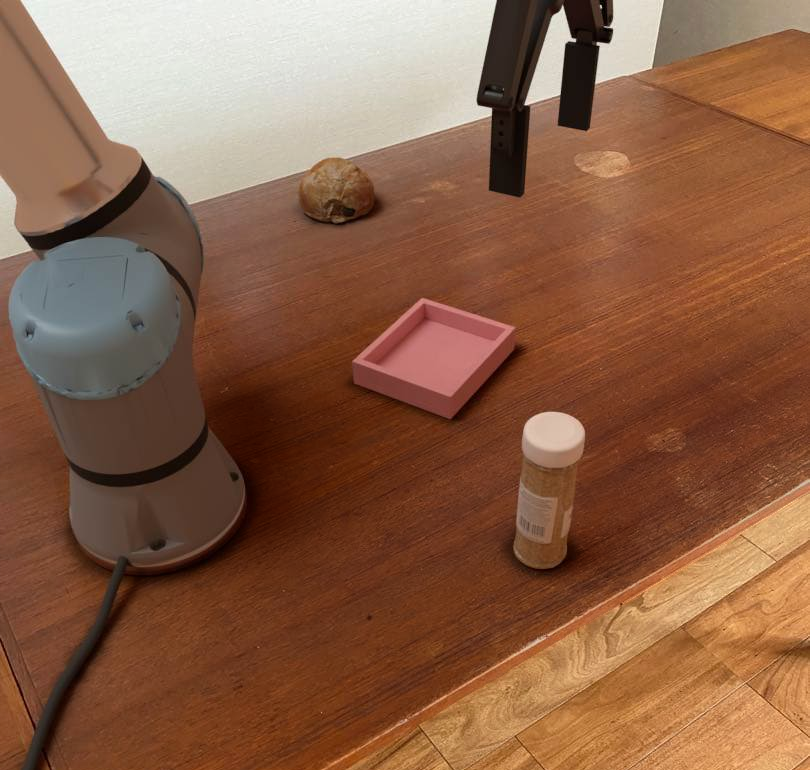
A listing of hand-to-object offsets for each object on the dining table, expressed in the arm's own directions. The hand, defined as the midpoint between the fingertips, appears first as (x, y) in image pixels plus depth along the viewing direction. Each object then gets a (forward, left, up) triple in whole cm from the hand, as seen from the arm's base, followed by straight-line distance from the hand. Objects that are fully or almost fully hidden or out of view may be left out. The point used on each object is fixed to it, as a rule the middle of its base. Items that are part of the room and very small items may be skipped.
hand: (541, 158), depth 71 cm
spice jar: (-20, -12, -24) cm, 33 cm away
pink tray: (-2, +9, -23) cm, 25 cm away
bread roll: (+22, +39, -24) cm, 51 cm away
